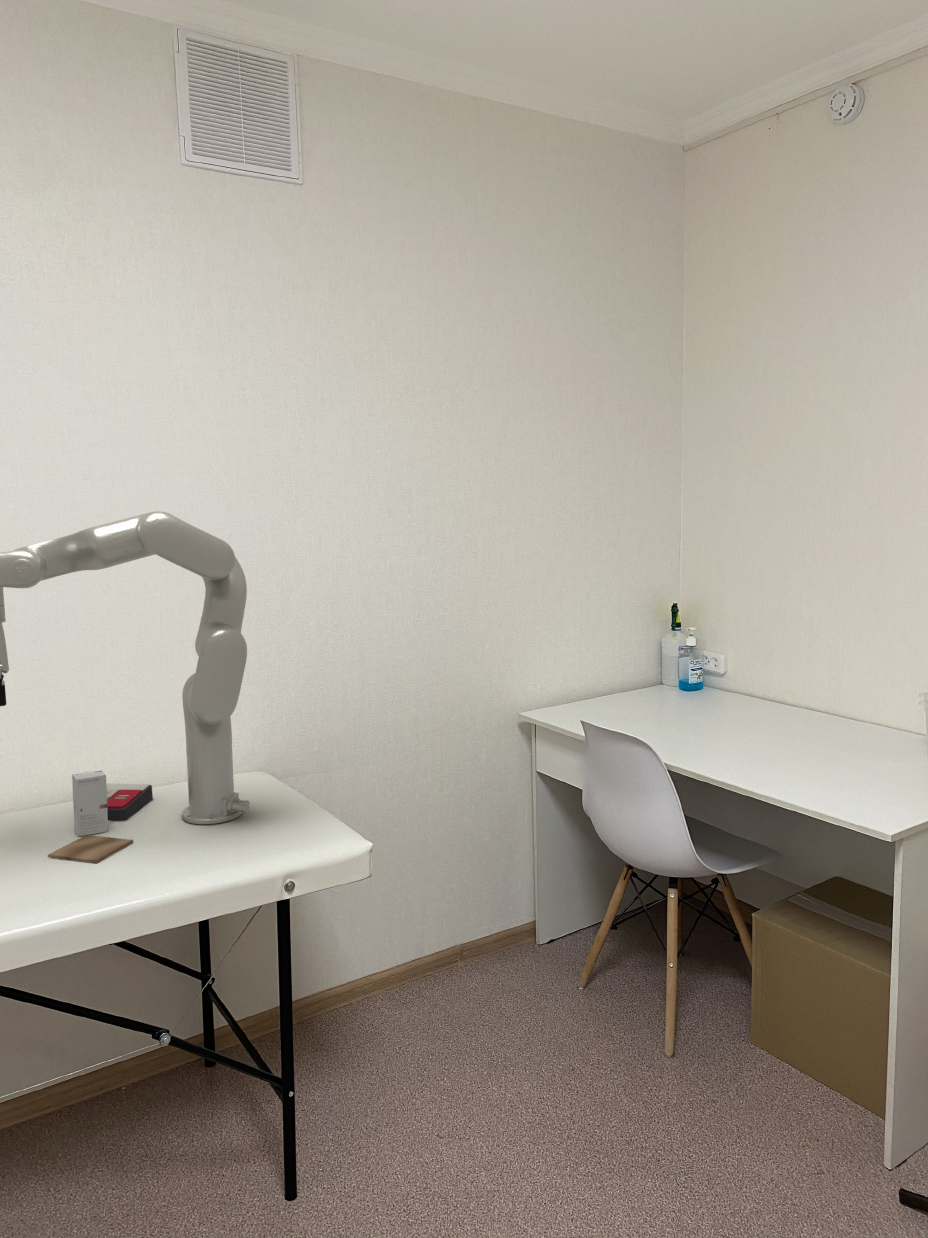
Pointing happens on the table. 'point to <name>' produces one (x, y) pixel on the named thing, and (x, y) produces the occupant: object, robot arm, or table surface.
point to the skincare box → (90, 803)
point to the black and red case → (126, 800)
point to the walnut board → (91, 849)
